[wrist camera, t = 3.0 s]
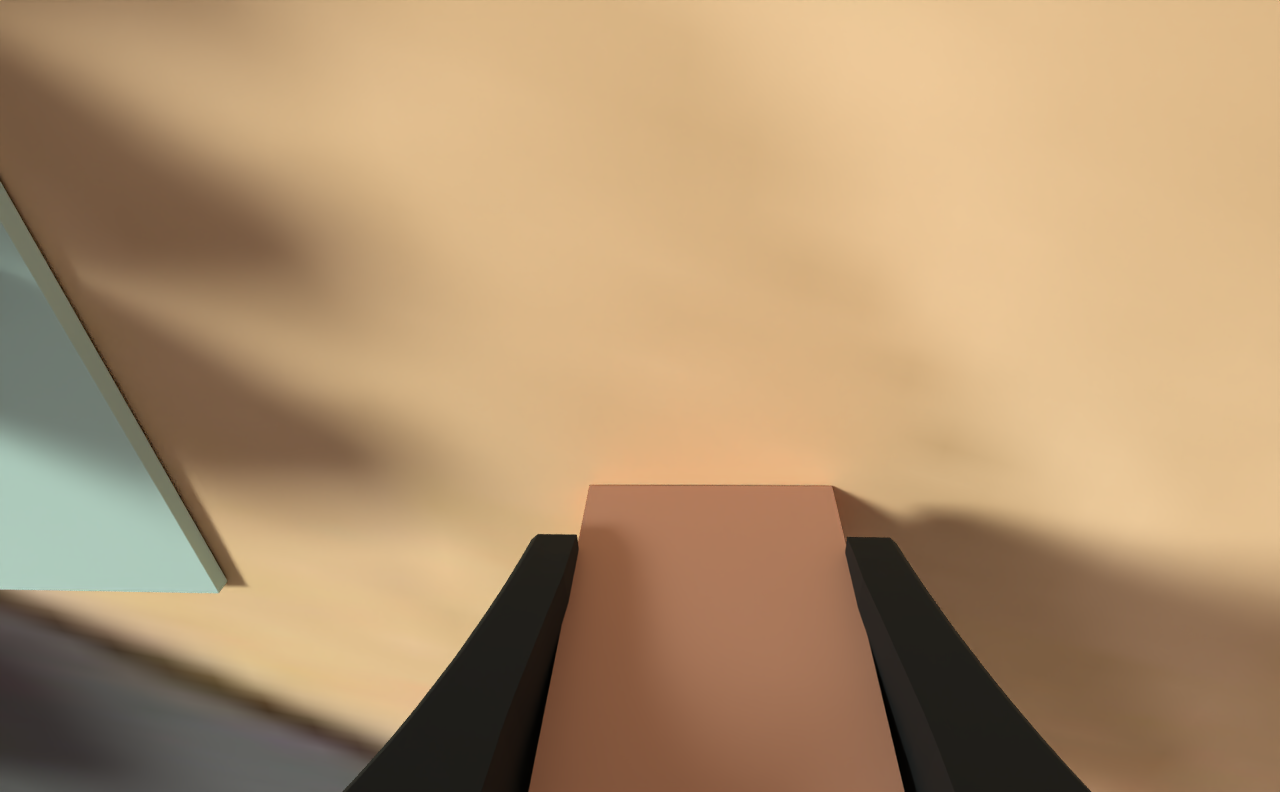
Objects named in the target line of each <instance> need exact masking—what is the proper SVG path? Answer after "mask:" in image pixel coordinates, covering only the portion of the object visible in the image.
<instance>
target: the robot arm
mask: <svg viewBox="0 0 1280 792" xmlns="http://www.w3.org/2000/svg"><path fill="white" fill-rule="evenodd" d="M578 551H579V546H578V540H577V535H562V534H538V535H536V536H535V537H534V538H533V539H532V540H531V542H530V543H529V545H528V547H527V548H526V550H525V552H524V554H523V555H522V557H521V559H520V560H519V562H518V564H517V565H516V567H515V569H514V570H513V572H512V574H511V575H510V577H509V578H508V580H507V582H506V583H505V585H504V586H503V588H502V589H501V591H500V592H499V594H498V595H497V597H496V599H495V600H494V602H493V603H492V605H491V606H490V608H489V609H488V611H487V612H486V614H485V615H484V617H483V618H482V619H481V621H480V622H479V624H478V625H477V627H476V628H475V629H474V631H473V632H472V634H471V635H470V637H469V638H468V639H467V641H466V642H465V644H464V645H463V647H462V648H461V650H460V651H459V652H458V654H457V655H456V656H455V658H454V659H453V660H452V662H451V663H450V664H449V666H448V667H447V668H446V670H445V671H444V672H443V673H442V675H441V676H440V677H439V679H438V680H437V681H436V683H435V684H434V685H433V686H432V688H431V689H430V690H429V692H428V693H427V694H426V695H425V697H424V698H423V699H422V701H421V702H420V703H419V705H418V706H417V707H416V708H415V710H414V711H413V712H412V713H411V715H410V716H409V717H408V718H407V719H406V721H405V722H404V723H403V724H402V725H401V727H400V728H399V729H398V730H397V731H396V733H395V734H394V735H393V736H392V737H391V738H390V740H389V741H388V742H387V743H386V744H385V745H384V747H383V748H382V749H381V750H380V751H379V752H378V753H377V754H376V756H375V757H374V758H373V759H372V760H371V761H370V762H369V763H368V765H367V766H366V767H365V768H364V769H363V770H362V771H361V772H360V774H359V775H358V776H357V777H356V778H355V779H354V780H353V781H352V782H351V783H350V784H349V785H348V786H347V787H346V789H345V790H344V791H343V792H529V787H530V782H531V777H532V772H533V767H534V761H535V756H536V751H537V746H538V741H539V736H540V731H541V726H542V721H543V716H544V711H545V706H546V701H547V696H548V691H549V686H550V681H551V676H552V671H553V666H554V661H555V656H556V651H557V646H558V641H559V636H560V631H561V626H562V622H563V619H564V616H565V612H566V609H567V606H568V602H569V597H570V592H571V587H572V582H573V577H574V572H575V567H576V561H577V556H578ZM845 554H846V559H847V563H848V567H849V572H850V576H851V580H852V585H853V589H854V593H855V597H856V602H857V606H858V610H859V612H860V615H861V618H862V621H863V624H864V627H865V630H866V633H867V636H868V640H869V644H870V648H871V652H872V657H873V661H874V665H875V669H876V673H877V678H878V682H879V686H880V690H881V695H882V699H883V703H884V707H885V711H886V716H887V720H888V724H889V728H890V732H891V737H892V741H893V745H894V749H895V754H896V758H897V762H898V766H899V771H900V775H901V779H902V783H903V787H904V792H1091V791H1090V790H1089V789H1088V788H1087V786H1086V785H1085V784H1084V783H1083V782H1082V781H1081V780H1080V779H1079V778H1078V777H1077V776H1076V775H1075V774H1074V773H1073V772H1072V770H1071V769H1070V768H1069V767H1068V766H1067V765H1066V764H1065V763H1064V762H1063V761H1062V759H1061V758H1060V757H1059V756H1058V755H1057V754H1056V753H1055V752H1054V750H1053V749H1052V748H1051V747H1050V746H1049V745H1048V744H1047V743H1046V741H1045V740H1044V739H1043V738H1042V737H1041V736H1040V735H1039V733H1038V732H1037V731H1036V730H1035V729H1034V728H1033V726H1032V725H1031V724H1030V723H1029V722H1028V720H1027V719H1026V718H1025V717H1024V716H1023V715H1022V713H1021V712H1020V711H1019V710H1018V709H1017V708H1016V706H1015V705H1014V704H1013V703H1012V702H1011V700H1010V699H1009V698H1008V697H1007V695H1006V694H1005V693H1004V692H1003V691H1002V689H1001V688H1000V687H999V686H998V684H997V683H996V682H995V681H994V679H993V678H992V677H991V676H990V674H989V673H988V672H987V670H986V669H985V668H984V667H983V665H982V664H981V663H980V661H979V660H978V659H977V658H976V656H975V655H974V654H973V652H972V651H971V650H970V648H969V647H968V646H967V645H966V643H965V642H964V641H963V639H962V638H961V637H960V635H959V634H958V633H957V631H956V630H955V629H954V627H953V626H952V625H951V623H950V622H949V621H948V619H947V618H946V616H945V615H944V614H943V612H942V611H941V609H940V608H939V607H938V605H937V604H936V602H935V601H934V599H933V598H932V597H931V595H930V594H929V592H928V591H927V589H926V588H925V587H924V585H923V584H922V582H921V581H920V579H919V578H918V576H917V575H916V573H915V572H914V570H913V569H912V567H911V566H910V564H909V563H908V561H907V560H906V558H905V557H904V555H903V553H902V552H901V550H900V549H899V547H898V546H897V544H896V543H895V542H894V541H893V540H892V539H891V538H876V537H847V542H846V549H845Z"/></svg>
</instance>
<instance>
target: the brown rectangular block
mask: <svg viewBox="0 0 1280 792" xmlns="http://www.w3.org/2000/svg"><path fill="white" fill-rule="evenodd" d="M578 546H579V551H578V556H577V561H576V567H575V572H574V577H573V582H572V587H571V592H570V597H569V602H568V606H567V609H566V612H565V616H564V619H563V622H562V626H561V631H560V636H559V641H558V646H557V651H556V656H555V661H554V666H553V671H552V676H551V681H550V686H549V691H548V696H547V701H546V706H545V711H544V716H543V721H542V726H541V731H540V736H539V741H538V746H537V751H536V756H535V761H534V767H533V772H532V777H531V782H530V787H529V792H904V787H903V783H902V779H901V775H900V771H899V766H898V762H897V758H896V754H895V749H894V745H893V741H892V737H891V732H890V728H889V724H888V720H887V716H886V711H885V707H884V703H883V699H882V695H881V690H880V686H879V682H878V678H877V673H876V669H875V665H874V661H873V657H872V652H871V648H870V644H869V640H868V636H867V633H866V630H865V627H864V624H863V621H862V618H861V615H860V612H859V610H858V606H857V602H856V597H855V593H854V589H853V585H852V580H851V576H850V572H849V567H848V563H847V559H846V554H845V549H846V543H845V538H844V534H843V530H842V526H841V521H840V517H839V513H838V509H837V505H836V500H835V496H834V492H833V488H832V486H656V485H589V490H588V495H587V500H586V505H585V510H584V515H583V520H582V525H581V531H580V536H579V541H578Z"/></svg>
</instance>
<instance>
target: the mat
mask: <svg viewBox="0 0 1280 792" xmlns="http://www.w3.org/2000/svg"><path fill="white" fill-rule="evenodd" d="M226 583H227V579H226V578H225V576H224V574H223V572H222V571H221V569H220V567H219V565H218V564H217V562H216V560H215V558H214V557H213V555H212V553H211V551H210V550H209V548H208V546H207V544H206V543H205V541H204V539H203V537H202V535H201V534H200V532H199V530H198V528H197V527H196V525H195V523H194V521H193V520H192V518H191V516H190V514H189V513H188V511H187V509H186V507H185V506H184V504H183V502H182V500H181V499H180V497H179V495H178V493H177V491H176V490H175V488H174V486H173V484H172V483H171V481H170V479H169V477H168V476H167V474H166V472H165V470H164V469H163V467H162V465H161V463H160V462H159V460H158V458H157V456H156V455H155V453H154V451H153V449H152V447H151V446H150V444H149V442H148V440H147V439H146V437H145V435H144V433H143V432H142V430H141V428H140V426H139V425H138V423H137V421H136V419H135V418H134V416H133V414H132V412H131V411H130V409H129V407H128V405H127V403H126V402H125V400H124V398H123V396H122V395H121V393H120V391H119V389H118V388H117V386H116V384H115V382H114V381H113V379H112V377H111V375H110V374H109V372H108V370H107V368H106V367H105V365H104V363H103V361H102V359H101V358H100V356H99V354H98V352H97V351H96V349H95V347H94V345H93V344H92V342H91V340H90V338H89V337H88V335H87V333H86V331H85V330H84V328H83V326H82V324H81V323H80V321H79V319H78V317H77V315H76V314H75V312H74V310H73V308H72V307H71V305H70V303H69V301H68V300H67V298H66V296H65V294H64V293H63V291H62V289H61V287H60V286H59V284H58V282H57V280H56V279H55V277H54V275H53V273H52V271H51V270H50V268H49V266H48V264H47V263H46V261H45V259H44V257H43V256H42V254H41V252H40V250H39V249H38V247H37V245H36V243H35V242H34V240H33V238H32V236H31V235H30V233H29V231H28V229H27V227H26V226H25V224H24V222H23V220H22V219H21V217H20V215H19V213H18V212H17V210H16V208H15V206H14V205H13V203H12V201H11V199H10V198H9V196H8V194H7V192H6V191H5V189H4V187H3V185H2V183H1V182H0V589H14V590H69V591H124V592H179V593H219V592H220V591H221V589H222V588H223V587H224V585H225V584H226Z"/></svg>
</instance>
